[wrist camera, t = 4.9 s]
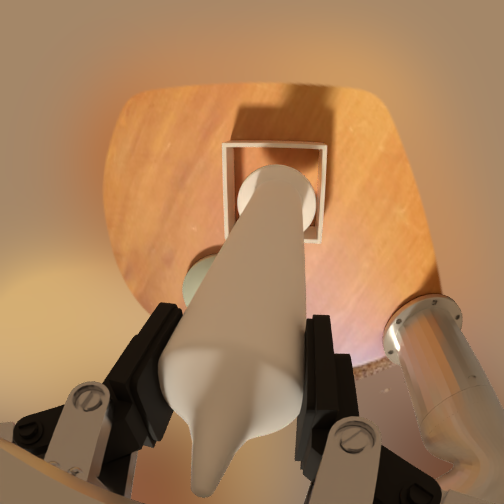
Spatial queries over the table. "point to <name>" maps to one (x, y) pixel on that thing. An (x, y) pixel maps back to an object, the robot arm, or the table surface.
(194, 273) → the pale green dome
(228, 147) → the tray
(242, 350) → the candle
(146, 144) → the table surface
